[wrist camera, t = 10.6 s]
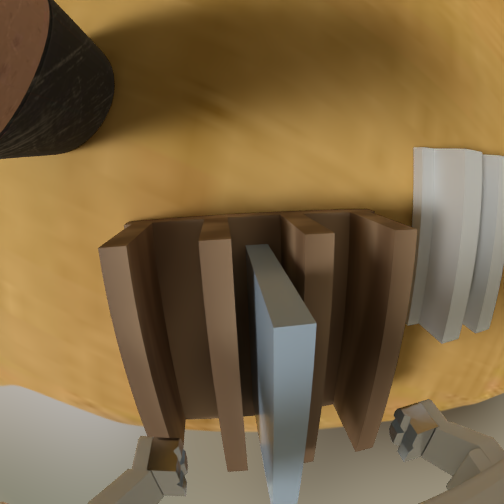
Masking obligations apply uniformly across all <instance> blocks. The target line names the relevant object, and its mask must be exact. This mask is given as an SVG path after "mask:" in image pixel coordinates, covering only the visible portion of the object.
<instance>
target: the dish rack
mask: <svg viewBox="0 0 504 504" xmlns="http://www.w3.org/2000/svg"><path fill="white" fill-rule="evenodd" d="M124 228H125V229H124V230H122V231H121V232H120V233H118V234H117V235H115V236H114V237H113V238H111V239H110V240H109V241H107V242H106V243H104V244H103V245H102V246H100V247H99V248H98V250H99V256H100V262H101V268H102V274H103V279H104V285H105V290H106V295H107V300H108V304H109V309H110V313H111V318H112V322H113V326H114V330H115V334H116V338H117V342H118V346H119V350H120V353H121V357H122V361H123V364H124V368H125V371H126V374H127V378H128V381H129V384H130V387H131V391H132V394H133V397H134V400H135V403H136V406H137V409H138V411H139V414H140V417H141V420H142V423H143V425H144V428H145V431H146V433H147V436H148V437H164V438H181V439H182V442H183V445H184V432H185V420H186V419H211V418H219V422H220V428H221V435H222V441H223V447H224V453H225V459H226V464H227V470H228V472H231V471H244V470H248V466H247V455H246V444H245V433H244V421H243V416H254V415H255V411H254V405H253V394H252V374H251V354H250V334H249V313H248V291H247V269H246V247H245V245H259V244H268V245H269V247H270V248H271V250H272V252H273V253H274V255H275V256H276V258H277V260H278V261H279V263H280V264H281V266H282V268H283V269H284V271H285V273H286V274H287V276H288V277H289V279H290V281H291V282H292V284H293V286H294V287H295V289H296V290H297V292H298V294H299V295H300V297H301V299H302V300H303V302H304V303H305V305H306V307H307V308H308V310H309V312H310V313H311V315H312V317H313V318H314V320H315V321H316V323H317V324H316V341H315V355H314V368H313V380H312V391H311V402H310V412H309V421H308V430H307V438H306V446H305V454H304V462H303V463H306V462H311V461H313V460H314V454H315V448H316V441H317V435H318V429H319V422H320V415H321V407H322V406H326V405H332V404H333V405H334V407H335V409H336V411H337V413H338V415H339V417H340V420H341V422H342V424H343V426H344V428H345V430H346V432H347V435H348V437H349V439H350V441H351V443H352V445H353V447H354V449H355V451H361V450H365V449H368V448H372V447H373V444H374V442H375V439H376V436H377V433H378V430H379V427H380V423H381V420H382V417H383V414H384V410H385V407H386V404H387V400H388V397H389V393H390V389H391V385H392V382H393V378H394V374H395V370H396V365H397V361H398V357H399V352H400V348H401V343H402V338H403V333H404V328H405V322H406V317H407V311H408V305H409V299H410V292H411V285H412V277H413V269H414V260H415V251H416V239H417V229H415V228H413V227H410V226H407V225H405V224H402V223H399V222H396V221H394V220H391V219H388V218H385V217H383V216H380V215H377V214H375V211H372V210H369V209H345V210H311V211H286V212H264V213H244V214H227V215H211V216H196V217H181V218H168V219H155V220H143V221H132V222H128V223H126V224H125V225H124Z"/></svg>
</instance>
